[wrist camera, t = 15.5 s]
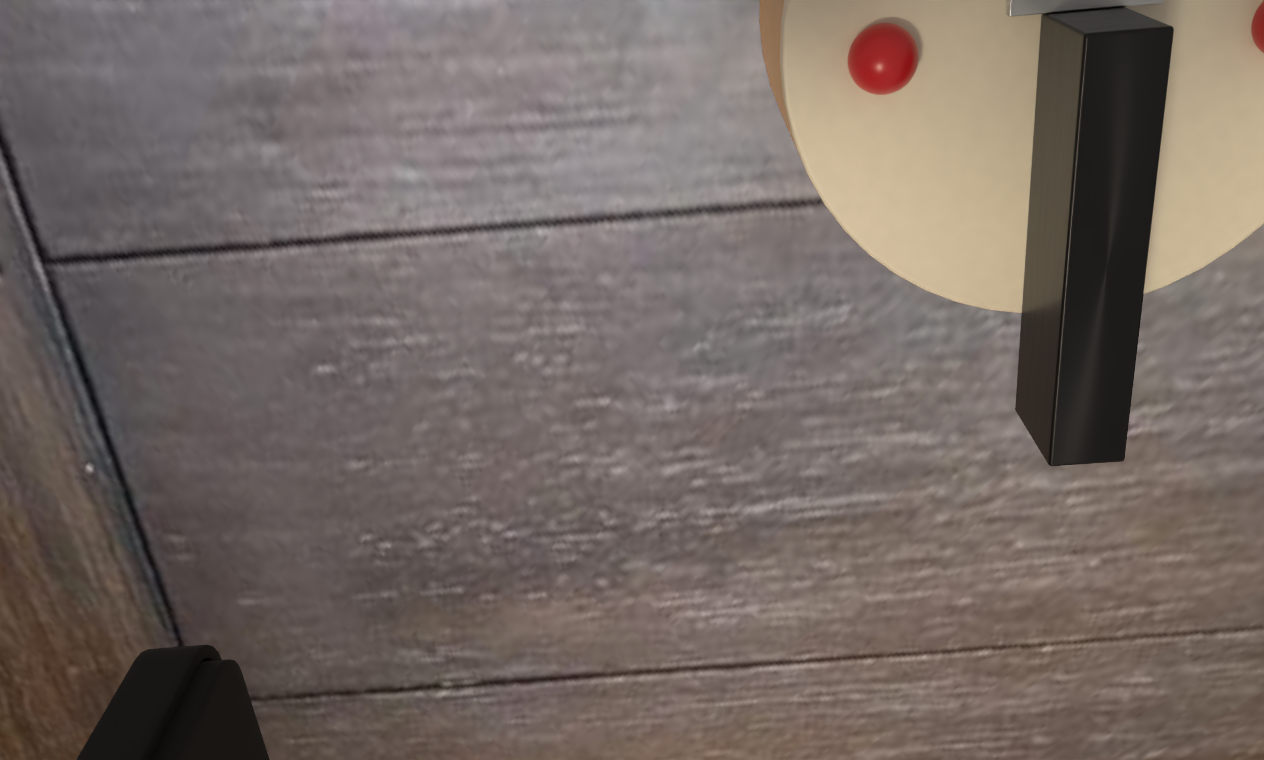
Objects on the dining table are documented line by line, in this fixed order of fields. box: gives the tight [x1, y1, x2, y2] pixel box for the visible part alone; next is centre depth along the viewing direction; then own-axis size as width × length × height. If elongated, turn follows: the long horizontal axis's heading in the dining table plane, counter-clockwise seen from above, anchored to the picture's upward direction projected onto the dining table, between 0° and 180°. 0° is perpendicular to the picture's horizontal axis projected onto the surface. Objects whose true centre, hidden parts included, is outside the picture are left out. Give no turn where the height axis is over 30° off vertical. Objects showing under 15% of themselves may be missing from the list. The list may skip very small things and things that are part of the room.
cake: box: [760, 0, 1264, 313], centre depth 25 cm, size 12×12×6 cm
